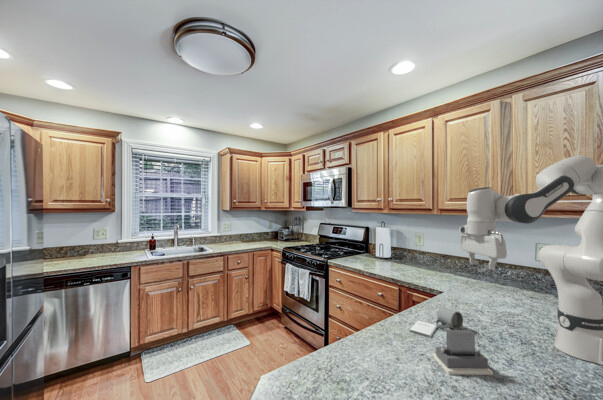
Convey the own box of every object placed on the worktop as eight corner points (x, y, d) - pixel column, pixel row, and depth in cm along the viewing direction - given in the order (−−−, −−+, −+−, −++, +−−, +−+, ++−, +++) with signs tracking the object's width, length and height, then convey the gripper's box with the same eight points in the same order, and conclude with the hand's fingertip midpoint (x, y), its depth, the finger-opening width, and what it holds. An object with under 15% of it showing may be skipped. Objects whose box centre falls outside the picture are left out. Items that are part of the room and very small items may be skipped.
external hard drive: (409, 333, 108) (417, 323, 118) (430, 339, 103) (437, 328, 113) (409, 329, 108) (417, 319, 118) (430, 335, 103) (437, 325, 113)
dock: (471, 356, 90) (471, 341, 90) (493, 374, 80) (492, 358, 80) (432, 356, 90) (432, 341, 90) (448, 374, 80) (448, 357, 80)
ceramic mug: (447, 320, 120) (446, 304, 120) (463, 328, 112) (463, 310, 112) (430, 324, 116) (430, 307, 116) (447, 332, 108) (446, 314, 108)
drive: (470, 359, 86) (469, 330, 87) (475, 364, 84) (474, 333, 84) (446, 359, 86) (446, 329, 87) (451, 363, 84) (450, 333, 84)
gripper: (511, 232, 85) (513, 273, 85) (471, 228, 106) (472, 261, 105) (493, 231, 86) (494, 273, 85) (456, 228, 106) (457, 261, 105)
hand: (481, 266), depth 95 cm, fingers open, 8 cm apart
